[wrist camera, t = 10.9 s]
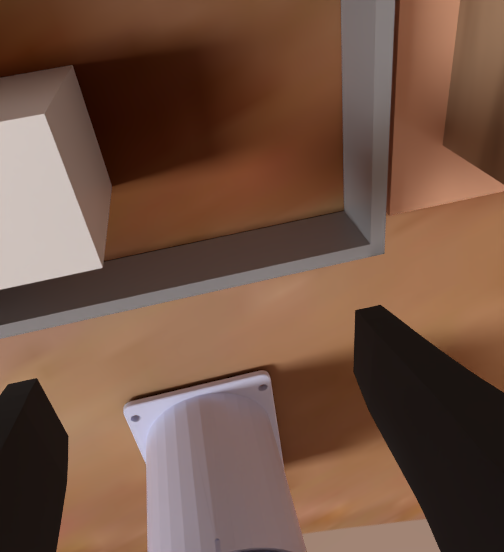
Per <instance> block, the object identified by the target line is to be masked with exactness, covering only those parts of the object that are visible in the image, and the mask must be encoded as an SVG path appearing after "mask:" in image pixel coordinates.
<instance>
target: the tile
mask: <svg viewBox="0 0 504 552" xmlns="http://www.w3.org/2000/svg"><path fill="white" fill-rule="evenodd" d="M459 6H460V0H395V15H394V39H393V62H392V85H391V109H390V132H389V155H388V178H387V202H386V212H387V213H388V214H389V216H391V215H395V214H400V213H405V212H409V211H414V210H419V209H423V208H428V207H432V206H437V205H442V204H446V203H451V202H456V201H460V200H465V199H470V198H474V197H479V196H484V195H488V194H493V193H498V192H502V191H504V184H502V183H501V182H499V181H497V180H496V179H494V178H493V177H491V176H490V175H488V174H487V173H485V172H483V171H482V170H480V169H479V168H477V167H476V166H474V165H472V164H471V163H469V162H468V161H466V160H465V159H463V158H462V157H460V156H458V155H457V154H455V153H454V152H452V151H451V150H449V149H447V148H446V147H444V146H443V137H444V129H445V121H446V113H447V105H448V96H449V88H450V80H451V72H452V63H453V55H454V47H455V39H456V31H457V22H458V14H459Z"/></svg>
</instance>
